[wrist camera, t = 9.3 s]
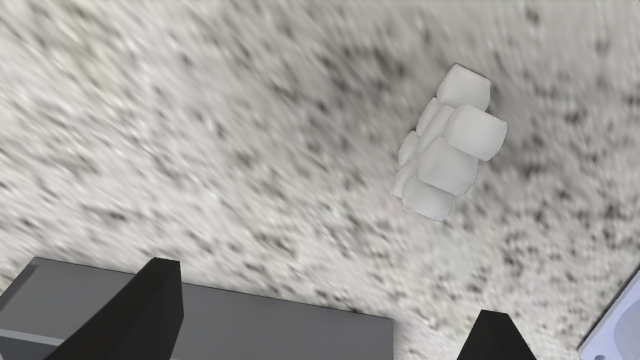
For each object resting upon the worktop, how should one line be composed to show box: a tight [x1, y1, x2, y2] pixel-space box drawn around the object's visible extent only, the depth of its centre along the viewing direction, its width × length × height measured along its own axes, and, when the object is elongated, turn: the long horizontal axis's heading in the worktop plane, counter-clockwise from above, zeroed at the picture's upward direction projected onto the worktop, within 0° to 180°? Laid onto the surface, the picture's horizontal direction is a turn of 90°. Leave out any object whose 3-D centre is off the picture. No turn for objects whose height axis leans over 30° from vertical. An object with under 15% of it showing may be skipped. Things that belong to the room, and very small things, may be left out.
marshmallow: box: [390, 64, 508, 221], centre depth 17 cm, size 5×1×4 cm, turn 156°
